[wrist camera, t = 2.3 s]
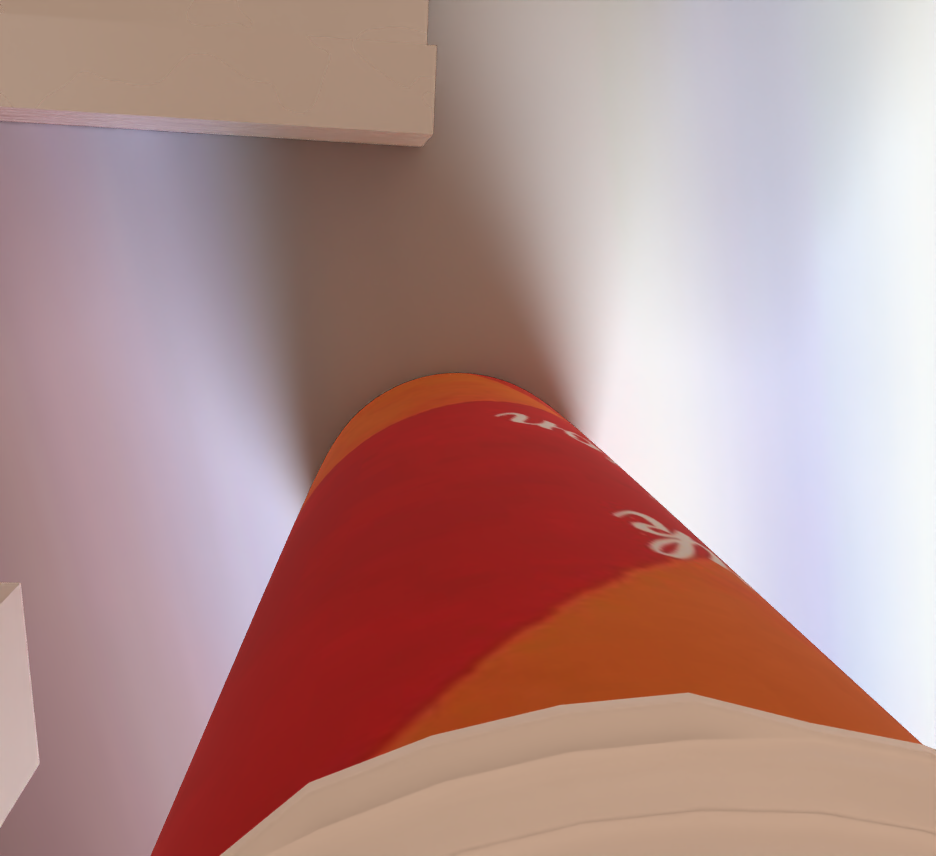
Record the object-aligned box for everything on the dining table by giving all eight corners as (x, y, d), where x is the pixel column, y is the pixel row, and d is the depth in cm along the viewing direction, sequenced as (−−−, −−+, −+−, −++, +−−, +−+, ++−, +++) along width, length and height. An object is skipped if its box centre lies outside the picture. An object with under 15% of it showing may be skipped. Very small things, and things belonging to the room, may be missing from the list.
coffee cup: (649, 638, 20) (1356, 1849, 5) (301, 695, 19) (52, 2184, 5) (624, 283, 17) (1788, 760, 3) (226, 338, 17) (-700, 1216, 2)
